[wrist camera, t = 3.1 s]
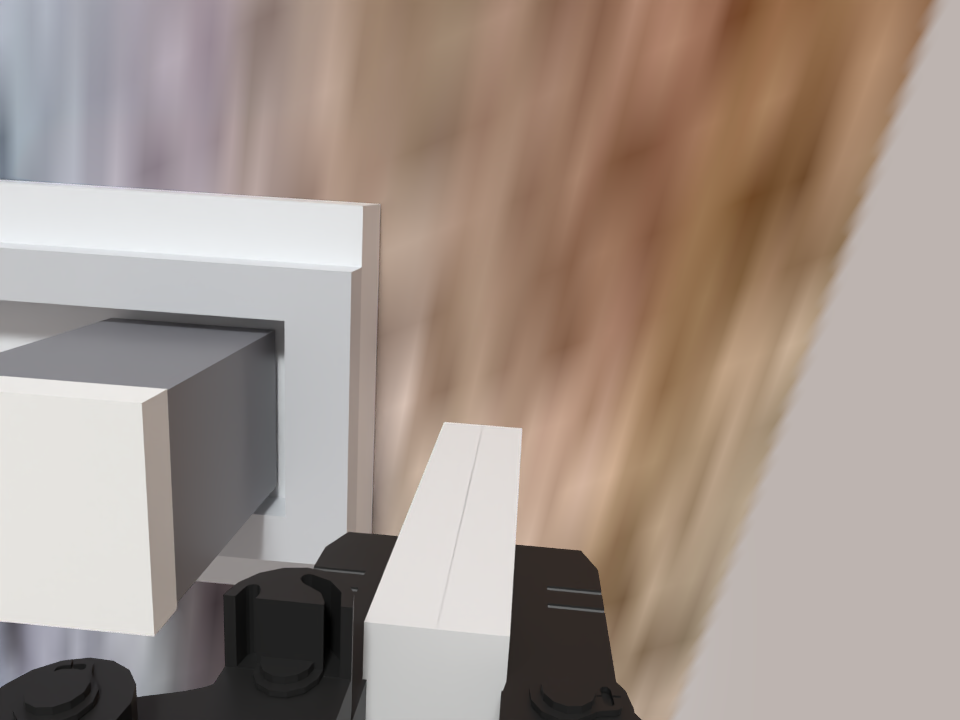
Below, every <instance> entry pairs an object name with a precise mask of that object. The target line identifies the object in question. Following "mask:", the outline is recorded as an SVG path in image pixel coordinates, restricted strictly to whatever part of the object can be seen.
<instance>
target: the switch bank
mask: <svg viewBox="0 0 960 720" xmlns="http://www.w3.org/2000/svg"><path fill="white" fill-rule="evenodd" d="M380 212H381V204H372V203H357V202H341V201H326V200H310V199H295V198H279V197H264V196H248V195H233V194H217V193H202V192H186V191H171V190H155V189H140V188H125V187H109V186H94V185H78V184H63V183H47V182H32V181H16V180H1V179H0V352H3V351H6V350H9V349H13V348H16V347H19V346H22V345H26V344H29V343H32V342H35V341H38V340H42V339H45V338H48V337H51V336H54V335H58V334H61V333H64V332H67V331H71V330H74V329H77V328H80V327H83V326H87V325H90V324H93V323H96V322H99V321H103V320H106V319H109V318H122V319H135V320H149V321H162V322H176V323H189V324H203V325H216V326H230V327H243V328H257V329H270V330H275V386H276V487H275V488H274V490H273V491H272V492H271V493H270V494H269V495H268V497H267V498H266V499H265V500H264V501H263V502H262V504H261V505H260V506H259V507H258V508H257V510H256V511H255V512H254V513H253V514H252V515H251V517H250V518H249V519H248V520H247V521H246V522H245V524H244V525H243V526H242V527H241V528H240V530H239V531H238V532H237V533H236V534H235V535H234V537H233V538H232V539H231V540H230V541H229V543H228V544H227V545H226V546H225V547H224V548H223V550H222V551H221V552H220V553H219V554H218V555H217V557H216V558H215V559H214V560H213V561H212V563H211V564H210V565H209V566H208V567H207V568H206V570H205V571H204V572H203V573H202V574H201V576H200V577H199V578H198V579H197V580H196V581H200V582H211V583H221V584H232V585H236V584H237V583H238V582H240V581H242V580H244V579H246V578H249V577H251V576H253V575H256V574H258V573H261V572H265V571H270V570H275V569H280V568H313V569H314V565H315V564H316V562H317V560H318V558H319V557H320V555H321V553H322V552H323V550H324V548H325V547H326V546H327V545H329V544H331V543H332V542H334V541H335V540H337V539H338V538H340V537H341V536H343V535H344V534H346V533H347V532H357V533H368V534H372V505H373V468H374V432H375V395H376V358H377V322H378V285H379V248H380Z"/></svg>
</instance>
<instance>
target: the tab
mask: <svg viewBox="0 0 960 720" xmlns="http://www.w3.org/2000/svg"><path fill="white" fill-rule="evenodd" d="M275 487H276V386H275V330H270V329H257V328H243V327H230V326H216V325H203V324H189V323H176V322H162V321H149V320H135V319H122V318H109V319H106V320H103V321H99V322H96V323H93V324H90V325H87V326H83V327H80V328H77V329H74V330H71V331H67V332H64V333H61V334H58V335H54V336H51V337H48V338H45V339H42V340H38V341H35V342H32V343H29V344H26V345H22V346H19V347H16V348H13V349H9V350H6V351H3V352H0V621H1V622H12V623H22V624H32V625H42V626H53V627H63V628H73V629H83V630H94V631H104V632H114V633H125V634H135V635H145V636H155V635H156V634H157V633H158V631H159V630H160V629H161V628H162V627H163V625H164V624H165V623H166V622H167V621H168V619H169V618H170V617H171V616H172V615H173V613H174V612H175V611H176V610H177V603H178V601H179V600H180V599H181V598H182V597H183V596H184V594H185V593H186V592H187V591H188V590H189V588H190V587H191V586H192V585H193V584H194V583H195V581H196V580H197V579H198V578H199V577H200V576H201V574H202V573H203V572H204V571H205V570H206V568H207V567H208V566H209V565H210V564H211V563H212V561H213V560H214V559H215V558H216V557H217V555H218V554H219V553H220V552H221V551H222V550H223V548H224V547H225V546H226V545H227V544H228V543H229V541H230V540H231V539H232V538H233V537H234V535H235V534H236V533H237V532H238V531H239V530H240V528H241V527H242V526H243V525H244V524H245V522H246V521H247V520H248V519H249V518H250V517H251V515H252V514H253V513H254V512H255V511H256V510H257V508H258V507H259V506H260V505H261V504H262V502H263V501H264V500H265V499H266V498H267V497H268V495H269V494H270V493H271V492H272V491H273V490H274V488H275Z"/></svg>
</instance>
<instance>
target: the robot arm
mask: <svg viewBox="0 0 960 720" xmlns="http://www.w3.org/2000/svg"><path fill="white" fill-rule="evenodd" d="M521 441H522V428H510V427H498V426H486V425H474V424H462V423H450V422H444V424H443V426H442V429H441V431H440V434H439V436H438V439H437V441H436V444H435V446H434V449H433V451H432V454H431V456H430V459H429V461H428V464H427V466H426V469H425V471H424V474H423V476H422V479H421V481H420V484H419V486H418V489H417V491H416V494H415V496H414V499H413V501H412V504H411V506H410V509H409V511H408V514H407V516H406V519H405V521H404V524H403V526H402V529H401V531H400V534H399V536H389V535H379V534H368V533H357V532H347V533H346V534H344V535H343V536H341V537H340V538H338V539H337V540H335V541H334V542H332V543H331V544H329V545H327V546H326V547H325V548H324V550H323V552H322V553H321V555H320V557H319V558H318V560H317V562H316V564H315V565H314V569H313V568H280V569H275V570H270V571H265V572H261V573H258V574H256V575H253V576H251V577H249V578H246V579H244V580H242V581H240V582H238V583H237V584H236V585H234V586H233V587H232V588H231V589H230V590H229V591H227V592H226V593H225V594H224V595H223V596H224V637H225V668H224V669H223V671H222V672H221V674H220V675H219V677H218V678H217V680H216V681H215V683H214V684H213V685H210V686H207V687H204V688H199V689H194V690H188V691H183V692H175V693H167V694H159V695H150V696H142V697H137V695H136V683H135V681H134V679H133V677H132V675H131V672H130V670H128V669H127V668H125V667H123V666H121V665H120V664H118V663H116V662H114V661H110V660H103V659H96V658H83V659H74V660H73V659H72V660H64V661H60V662H56V663H53V664H50V665H47V666H44V667H40V668H37V669H34V670H32V671H30V672H28V673H26V674H24V675H22V676H20V677H18V678H17V679H15V680H13V681H11V682H9V683H7V684H5V685H4V686H2V687H1V688H0V720H641V719H640V718H639V717H638V716H637V715H636V714H635V713H634V708H633V706H632V704H631V702H630V700H629V698H628V695H627V693H626V691H625V690H624V689H623V688H622V687H621V686H620V685H619V684H618V683H617V682H616V679H615V673H614V666H613V660H612V654H611V648H610V642H609V636H608V630H607V623H606V617H605V613H604V605H603V599H602V595H601V587H600V580H599V574H598V570H597V568H596V567H595V566H594V565H593V564H592V563H591V562H590V561H589V559H588V558H587V557H586V556H585V555H584V554H583V553H582V551H578V550H567V549H556V548H545V547H535V546H524V545H515V542H516V525H517V508H518V491H519V474H520V458H521Z"/></svg>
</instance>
